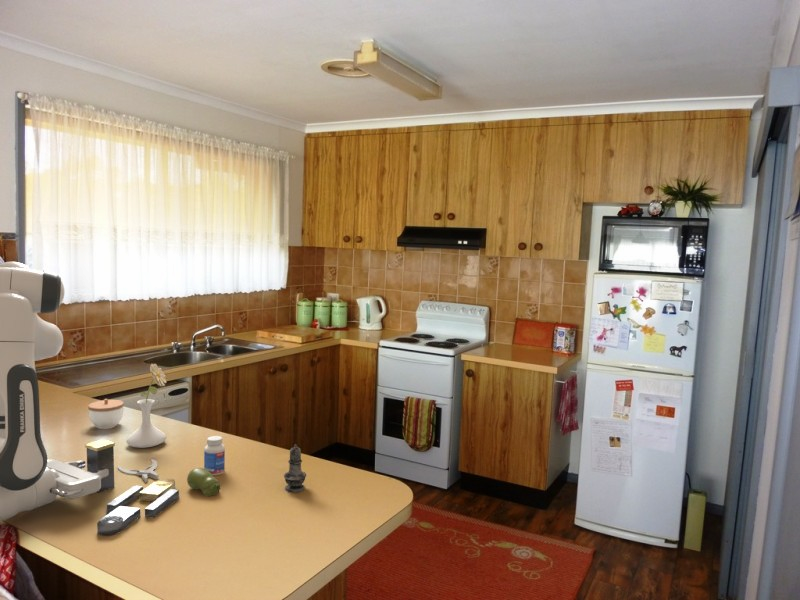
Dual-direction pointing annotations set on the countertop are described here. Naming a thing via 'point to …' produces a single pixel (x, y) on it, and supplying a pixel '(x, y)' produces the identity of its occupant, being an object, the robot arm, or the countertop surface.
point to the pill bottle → (214, 455)
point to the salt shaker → (295, 472)
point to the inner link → (157, 489)
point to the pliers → (143, 471)
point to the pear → (203, 481)
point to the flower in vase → (148, 416)
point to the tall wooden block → (101, 461)
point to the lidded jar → (106, 413)
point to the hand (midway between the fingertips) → (95, 467)
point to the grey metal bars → (131, 510)
